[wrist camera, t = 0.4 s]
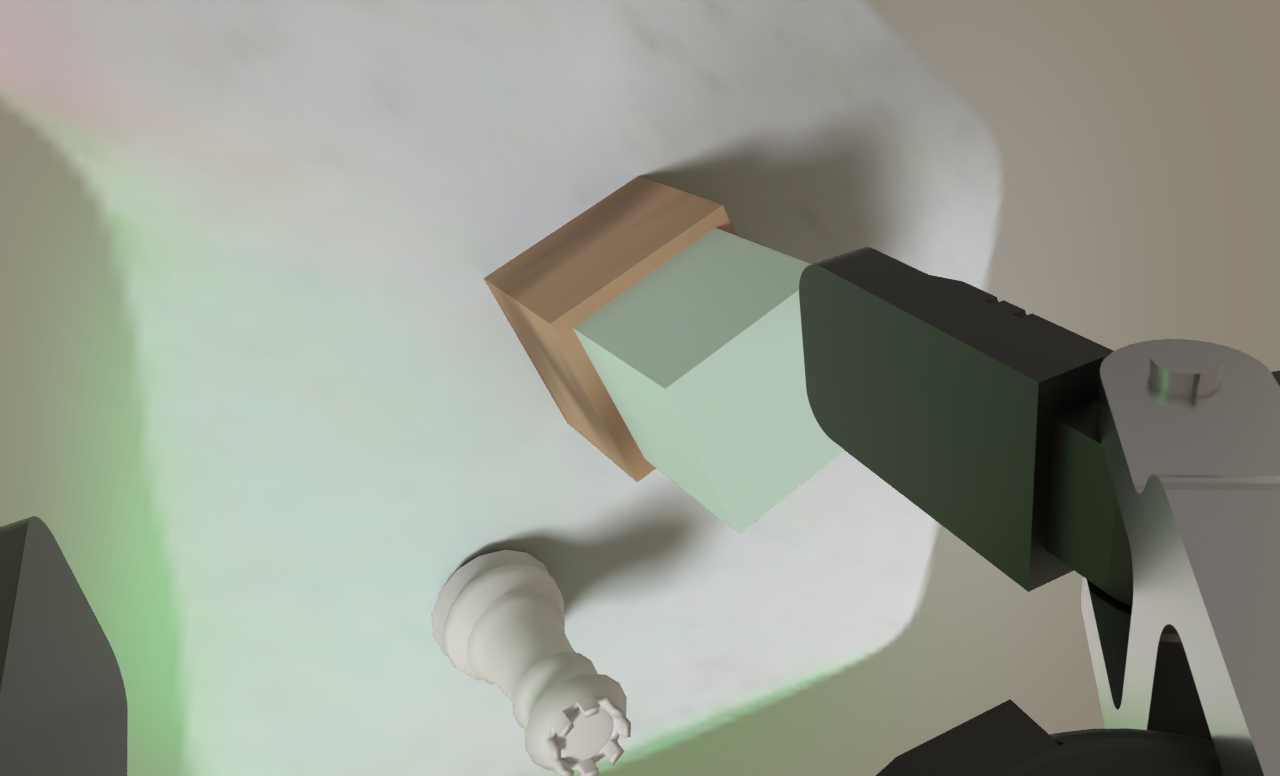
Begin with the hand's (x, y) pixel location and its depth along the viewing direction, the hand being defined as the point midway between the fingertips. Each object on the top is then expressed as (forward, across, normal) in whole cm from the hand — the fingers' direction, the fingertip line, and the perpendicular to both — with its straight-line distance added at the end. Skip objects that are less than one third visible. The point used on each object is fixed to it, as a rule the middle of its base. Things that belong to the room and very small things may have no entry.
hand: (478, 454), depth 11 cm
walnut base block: (+20, -8, +8) cm, 23 cm away
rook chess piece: (+20, -2, +17) cm, 26 cm away
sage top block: (+15, -9, +8) cm, 19 cm away
